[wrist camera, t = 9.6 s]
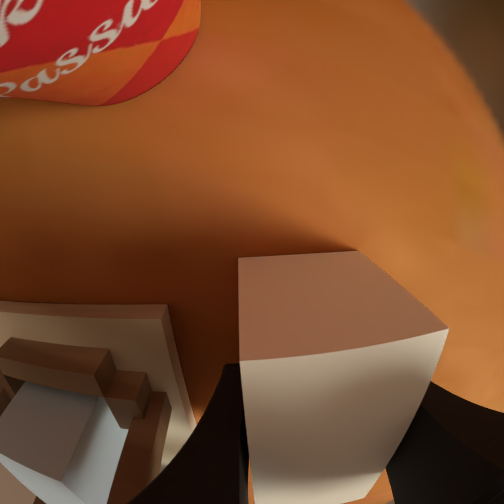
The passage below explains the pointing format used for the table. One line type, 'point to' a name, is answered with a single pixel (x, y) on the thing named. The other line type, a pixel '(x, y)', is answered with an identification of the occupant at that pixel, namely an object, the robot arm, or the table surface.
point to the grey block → (61, 444)
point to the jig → (105, 375)
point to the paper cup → (92, 47)
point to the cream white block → (328, 372)
